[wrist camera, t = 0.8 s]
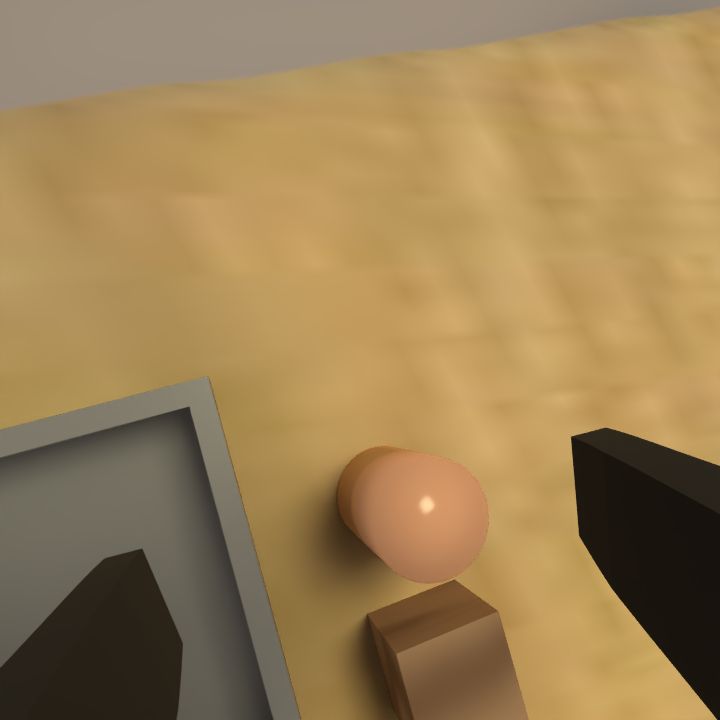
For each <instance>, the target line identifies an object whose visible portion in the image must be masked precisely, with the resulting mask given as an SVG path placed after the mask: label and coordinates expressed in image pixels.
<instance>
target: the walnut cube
mask: <svg viewBox="0 0 720 720" xmlns="http://www.w3.org/2000/svg"><path fill="white" fill-rule="evenodd" d="M367 615H368V618H369V622H370V626H371V629H372V633H373V637H374V640H375V644H376V648H377V651H378V655H379V659H380V662H381V666H382V670H383V673H384V677H385V681H386V684H387V688H388V692H389V695H390V699H391V703H392V706H393V710H394V711H395V713H396V715H397V717H398V718H399V720H529V719H528V716H527V712H526V708H525V705H524V701H523V698H522V694H521V691H520V687H519V683H518V680H517V676H516V673H515V669H514V665H513V662H512V658H511V655H510V651H509V648H508V644H507V640H506V637H505V633H504V630H503V626H502V623H501V619H500V615H499V612H498V611H497V610H496V609H495V608H493V607H492V606H490V605H489V604H488V603H486V602H485V601H483V600H482V599H481V598H479V597H478V596H477V595H475V594H474V593H472V592H471V591H470V590H468V589H467V588H465V587H464V586H463V585H461V584H460V583H459V582H457V581H456V580H452V581H450V582H447V583H445V584H442V585H439V586H437V587H434V588H432V589H429V590H427V591H424V592H422V593H419V594H417V595H414V596H411V597H409V598H406V599H404V600H401V601H399V602H396V603H394V604H391V605H389V606H386V607H383V608H381V609H378V610H376V611H373V612H371V613H368V614H367Z"/></svg>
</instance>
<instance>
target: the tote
mask: <svg viewBox="0 0 720 720" xmlns="http://www.w3.org/2000/svg"><path fill="white" fill-rule="evenodd" d="M138 549H143V551H144V553H145V556H146V558H147V560H148V563H149V565H150V567H151V570H152V572H153V574H154V577H155V579H156V581H157V584H158V586H159V588H160V591H161V593H162V595H163V598H164V600H165V602H166V605H167V607H168V609H169V612H170V614H171V616H172V619H173V621H174V623H175V626H176V628H177V630H178V633H179V635H180V637H181V640H182V642H183V654H182V671H181V685H180V696H179V707H178V714H177V719H176V720H301V716H300V713H299V709H298V705H297V701H296V698H295V694H294V690H293V687H292V683H291V679H290V675H289V672H288V668H287V664H286V661H285V657H284V653H283V650H282V646H281V642H280V638H279V635H278V631H277V627H276V624H275V620H274V616H273V612H272V609H271V605H270V601H269V598H268V594H267V590H266V586H265V583H264V579H263V575H262V572H261V568H260V564H259V560H258V557H257V553H256V549H255V546H254V542H253V538H252V535H251V531H250V527H249V523H248V520H247V516H246V512H245V509H244V505H243V501H242V497H241V494H240V490H239V486H238V483H237V479H236V475H235V471H234V468H233V464H232V460H231V457H230V453H229V449H228V445H227V442H226V438H225V434H224V431H223V427H222V423H221V419H220V416H219V412H218V408H217V405H216V401H215V397H214V394H213V390H212V386H211V382H210V380H209V378H208V376H206V377H203V378H199V379H195V380H191V381H187V382H183V383H179V384H175V385H172V386H168V387H164V388H160V389H156V390H152V391H148V392H145V393H141V394H137V395H133V396H129V397H125V398H121V399H117V400H114V401H110V402H106V403H102V404H98V405H94V406H90V407H87V408H83V409H79V410H75V411H71V412H67V413H63V414H59V415H56V416H52V417H48V418H44V419H40V420H36V421H32V422H29V423H25V424H21V425H17V426H13V427H9V428H5V429H1V430H0V667H1V666H2V665H3V664H4V663H5V662H6V661H7V660H8V659H9V658H10V657H11V656H12V655H13V654H14V653H15V651H16V650H17V649H18V648H19V647H20V646H21V645H22V644H23V643H24V642H25V641H26V640H27V639H28V638H29V636H30V635H31V634H32V633H33V632H34V631H35V630H36V629H37V628H38V627H39V626H40V625H41V624H42V623H43V622H44V620H45V619H46V618H47V617H48V616H49V615H50V614H51V613H52V612H53V611H54V610H55V609H56V607H57V606H58V605H59V604H60V603H61V602H62V601H63V600H64V599H65V598H66V597H67V596H68V595H69V593H70V592H71V591H72V590H73V589H74V588H75V587H76V586H77V585H78V584H79V583H80V582H81V581H82V580H83V579H84V578H85V577H86V576H87V575H88V574H89V573H90V572H91V571H92V570H93V569H94V568H95V567H96V566H97V565H98V564H99V563H100V562H101V561H102V560H103V559H104V558H107V557H111V556H115V555H119V554H123V553H127V552H130V551H134V550H138Z"/></svg>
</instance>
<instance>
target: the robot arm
mask: <svg viewBox="0 0 720 720" xmlns="http://www.w3.org/2000/svg"><path fill="white" fill-rule="evenodd" d="M571 442H572V454H573V466H574V478H575V490H576V503H577V515H578V527H579V536H580V538H581V540H582V541H583V543H584V545H585V546H586V548H587V550H588V551H589V553H590V555H591V556H592V558H593V560H594V561H595V563H596V565H597V566H598V568H599V569H600V571H601V572H602V574H603V575H604V577H605V579H606V580H607V582H608V583H609V585H610V586H611V588H612V589H613V591H614V592H615V593H616V594H617V596H618V597H619V598H620V600H621V601H622V602H623V603H624V605H625V606H626V607H627V608H628V610H629V611H630V612H631V613H632V615H633V616H634V617H635V618H636V620H637V621H638V622H639V623H640V625H641V626H642V627H643V628H644V630H645V631H646V632H647V633H648V635H649V636H650V637H651V638H652V640H653V641H654V642H655V643H656V645H657V646H658V647H659V648H660V649H661V651H662V652H663V653H664V654H665V656H666V657H667V658H668V659H669V661H670V662H671V663H672V664H673V665H674V667H675V668H676V669H677V670H678V672H679V673H680V674H681V675H682V677H683V678H684V679H685V680H686V682H687V683H688V684H689V685H690V686H691V688H692V689H693V690H694V691H695V693H696V694H697V695H698V696H699V698H700V699H701V700H702V701H703V702H704V704H705V705H706V706H707V707H708V709H709V710H710V711H711V712H712V714H713V715H714V716H715V717H716V719H717V720H720V466H718V465H715V464H712V463H710V462H707V461H704V460H701V459H698V458H695V457H692V456H690V455H687V454H684V453H681V452H678V451H675V450H673V449H670V448H667V447H664V446H661V445H659V444H656V443H653V442H650V441H647V440H644V439H641V438H638V437H635V436H632V435H629V434H626V433H623V432H620V431H616V430H613V429H609V428H603V429H599V430H595V431H591V432H587V433H583V434H580V435H576V436H572V437H571ZM182 654H183V642H182V640H181V637H180V635H179V633H178V630H177V628H176V626H175V623H174V621H173V619H172V616H171V614H170V612H169V609H168V607H167V605H166V602H165V600H164V598H163V595H162V593H161V591H160V588H159V586H158V584H157V581H156V579H155V577H154V574H153V572H152V570H151V567H150V565H149V563H148V560H147V558H146V556H145V553H144V551H143V549H138V550H134V551H130V552H127V553H123V554H119V555H115V556H111V557H107V558H104V559H103V560H102V561H101V562H100V563H99V564H98V565H97V566H96V567H95V568H94V569H93V570H92V571H91V572H90V573H89V574H88V575H87V576H86V577H85V578H84V579H83V580H82V581H81V582H80V583H79V584H78V585H77V586H76V587H75V588H74V589H73V590H72V591H71V592H70V593H69V595H68V596H67V597H66V598H65V599H64V600H63V601H62V602H61V603H60V604H59V605H58V606H57V607H56V609H55V610H54V611H53V612H52V613H51V614H50V615H49V616H48V617H47V618H46V619H45V620H44V622H43V623H42V624H41V625H40V626H39V627H38V628H37V629H36V630H35V631H34V632H33V633H32V634H31V635H30V636H29V638H28V639H27V640H26V641H25V642H24V643H23V644H22V645H21V646H20V647H19V648H18V649H17V650H16V651H15V653H14V654H13V655H12V656H11V657H10V658H9V659H8V660H7V661H6V662H5V663H4V664H3V665H2V666H1V667H0V720H176V719H177V714H178V707H179V696H180V685H181V671H182Z"/></svg>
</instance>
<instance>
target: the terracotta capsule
mask: <svg viewBox="0 0 720 720" xmlns="http://www.w3.org/2000/svg"><path fill="white" fill-rule="evenodd" d="M337 503H338V508H339V512H340V515H341V517H342V519H343V521H344V522H345V524H346V525H347V527H348V528H349V529H350V530H351V531H352V532H353V533H354V534H355V535H356V536H357V537H358V538H359V539H360V540H361V541H362V542H364V543H365V544H366V545H367V546H368V547H369V548H370V549H371V550H372V551H373V552H374V553H375V554H376V555H377V556H378V557H380V558H381V559H382V560H383V561H384V562H385V563H386V564H387V565H388V566H389V567H390V568H391V569H393V570H394V571H395V572H396V573H397V574H399V575H401V576H402V577H404V578H406V579H409V580H411V581H414V582H418V583H438V582H443V581H446V580H449V579H451V578H453V577H455V576H457V575H458V574H460V573H462V572H463V571H464V570H465V569H466V568H468V567H469V566H470V565H471V563H472V562H473V561H474V560H475V559H476V557H477V556H478V554H479V552H480V551H481V549H482V547H483V544H484V542H485V539H486V535H487V531H488V524H489V514H488V506H487V501H486V498H485V495H484V492H483V490H482V488H481V486H480V484H479V483H478V481H477V480H476V478H475V477H474V476H473V475H472V474H471V473H470V472H469V471H468V470H467V469H466V468H464V467H463V466H461V465H460V464H458V463H456V462H454V461H452V460H449V459H446V458H441V457H436V456H432V455H427V454H422V453H418V452H413V451H409V450H404V449H399V448H395V447H389V446H381V447H374V448H370V449H368V450H365V451H364V452H362V453H360V454H359V455H357V456H356V457H355V458H354V459H353V460H351V461H350V463H349V464H348V465H347V466H346V468H345V470H344V471H343V473H342V475H341V478H340V481H339V484H338V489H337Z"/></svg>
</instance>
